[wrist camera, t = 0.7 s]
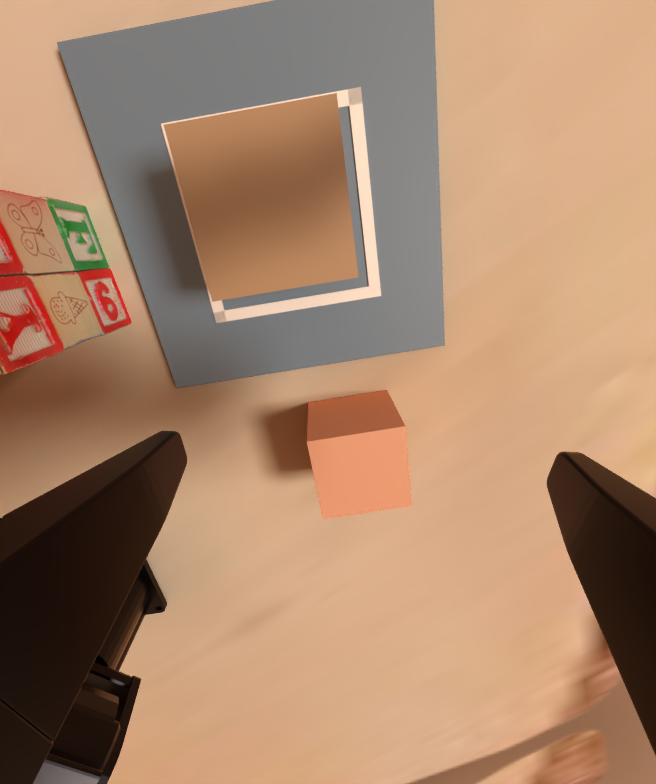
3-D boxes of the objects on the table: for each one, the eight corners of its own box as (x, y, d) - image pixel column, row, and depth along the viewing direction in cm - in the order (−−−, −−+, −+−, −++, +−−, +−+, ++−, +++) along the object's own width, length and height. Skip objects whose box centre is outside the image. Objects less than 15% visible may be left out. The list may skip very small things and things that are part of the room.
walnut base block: (348, 270, 19) (358, 277, 14) (237, 288, 19) (212, 301, 14) (330, 136, 17) (336, 92, 12) (205, 158, 17) (163, 124, 12)
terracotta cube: (393, 456, 24) (411, 505, 20) (321, 467, 24) (322, 519, 20) (386, 389, 22) (405, 426, 18) (308, 401, 22) (306, 441, 18)
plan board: (441, 342, 21) (445, 345, 20) (180, 384, 22) (175, 388, 21) (428, -20, 15) (433, -32, 14) (65, 49, 16) (54, 41, 15)
